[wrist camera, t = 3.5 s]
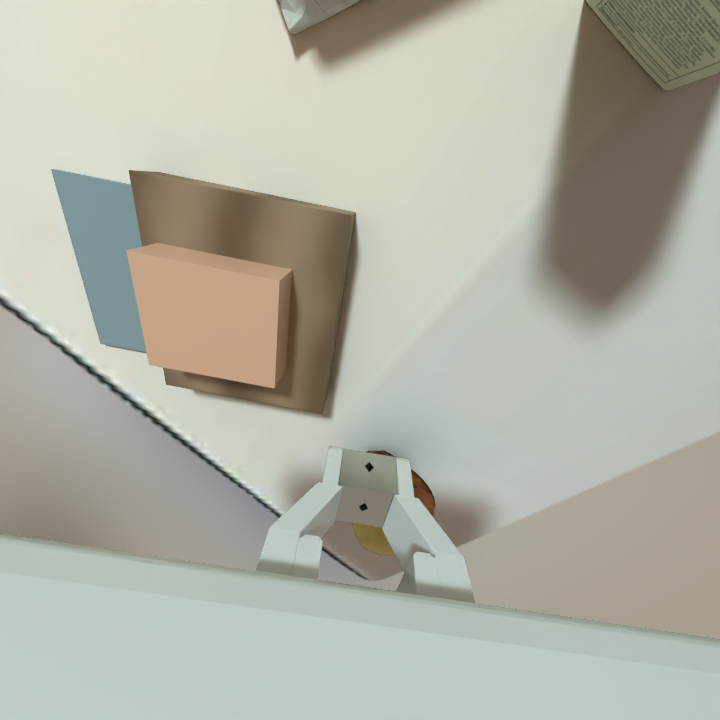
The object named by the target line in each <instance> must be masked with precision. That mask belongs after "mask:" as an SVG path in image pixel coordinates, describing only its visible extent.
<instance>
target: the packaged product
mask: <svg viewBox="0 0 720 720" xmlns="http://www.w3.org/2000/svg"><path fill="white" fill-rule="evenodd" d="M359 1H361V0H278V2H279V4H280V7H281V10H282V13H283V16H284V19H285V21H286V24H287V27H288V30H289V32H290V33H291V34H293V35H295V34H297V33H299V32H301V31H303V30H305V29H307V28H309V27H311V26H313V25H315V24H318V23H320V22H322V21H324V20H326V19H328V18H330V17H332V16H333V15H335V14H337V13H339V12H341V11H343V10H344V9H346V8H348V7H350V6H352V5H354V4H355V3H357V2H359Z"/></svg>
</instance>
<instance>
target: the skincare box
mask: <svg viewBox="0 0 720 720" xmlns="http://www.w3.org/2000/svg"><path fill="white" fill-rule="evenodd" d="M586 2H587V4H588V5H589V6H590V7H591V8H592V10H593V11H594V12H595V13H596V14H597V15H598V17H599V18H600V19H601V21H602V22H603V23H604V24H605V25H606V27H607V28H608V29H609V30H610V31H611V32H612V33H613V35H614V36H615V37H616V38H617V39H618V40H619V41H620V42H621V43H622V45H623V46H624V47H625V48H626V49H627V50H628V51H629V53H630V54H631V55H632V56H633V57H634V58H635V59H636V61H637V62H638V63H639V64H640V65H641V66H642V67H643V69H644V70H645V71H646V72H647V73H648V74H649V75H650V76H651V77H652V78H653V79H654V80H655V81H656V82H657V83H658V84H659V85H660V86H661V87H662V88H663V89H664V90H666V91H668V90H672V89H675V88H678V87H681V86H684V85H687V84H689V83H692V82H695V81H698V80H701V79H703V78H706V77H709V76H712V75H715V74H718V73H720V0H586Z"/></svg>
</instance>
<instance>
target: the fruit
mask: <svg viewBox="0 0 720 720" xmlns="http://www.w3.org/2000/svg"><path fill="white" fill-rule="evenodd" d="M366 453H373V454H379V455H385V456H392V457H394V456H393V455H391V454H390V453H388V452H386V451H367V452H366ZM411 474H412V482H413V489H414V497H415V498H419V500H420V501H421V502H422V503H423V505H424V506H425V507H426V509H427V510H428V511H429V513H430V514H431V515H432V517H433V515H434V507H435V506H436V505H435V499H434V496H433V494H432V492H431V490H430V489H429V487H428V485H427V484H426V483H425V482H424V480H423V479H422V478H421V477H420V476H419V475H418V474H416V473H415V472H414V471H413V470H412V469H411ZM353 525H354V529H355V535H356V538H357V539H358V541H359V543H360V544H361V545H362V546H363V547H364V548H366V549H367V550H369V551H371V552H374V553H377V554H380V555H395V554H394V552H393V550H392V548H391V546H390V544H389V542H388V540H387V538H386V536H385V534H384V532H383V530H382V528H380V527H375V526H370V525H364V524H359V523H353Z"/></svg>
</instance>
